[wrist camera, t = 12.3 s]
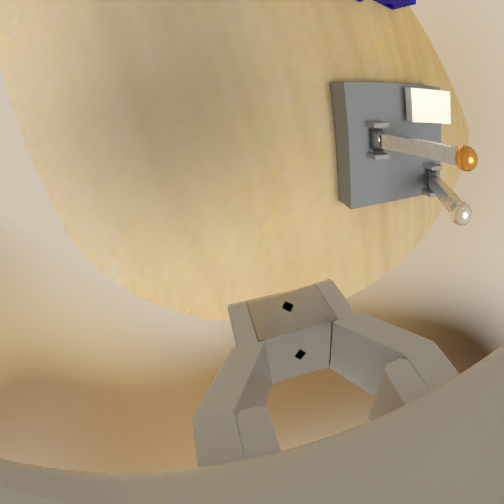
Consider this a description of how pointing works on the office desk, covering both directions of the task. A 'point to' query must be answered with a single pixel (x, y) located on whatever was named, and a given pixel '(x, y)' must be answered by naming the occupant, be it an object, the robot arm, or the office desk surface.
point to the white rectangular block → (427, 105)
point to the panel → (360, 144)
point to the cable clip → (395, 3)
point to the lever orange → (425, 149)
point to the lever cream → (449, 199)
